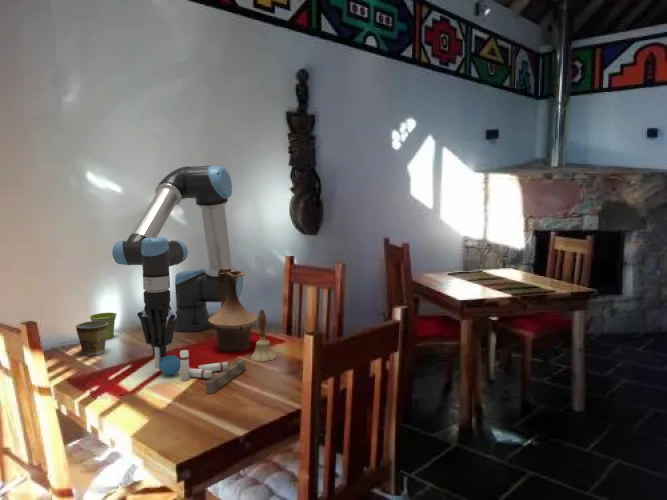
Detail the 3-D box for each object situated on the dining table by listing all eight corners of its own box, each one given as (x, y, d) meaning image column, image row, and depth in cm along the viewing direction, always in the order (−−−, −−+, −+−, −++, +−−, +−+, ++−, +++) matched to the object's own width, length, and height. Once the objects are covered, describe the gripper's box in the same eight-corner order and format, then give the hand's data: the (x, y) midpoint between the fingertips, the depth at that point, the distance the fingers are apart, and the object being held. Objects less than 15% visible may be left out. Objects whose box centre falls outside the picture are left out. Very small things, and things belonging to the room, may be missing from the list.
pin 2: (198, 366, 162) (226, 362, 165) (199, 374, 161) (227, 370, 164) (198, 364, 160) (227, 360, 163) (199, 373, 159) (228, 369, 162)
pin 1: (184, 377, 157) (182, 349, 156) (191, 378, 156) (190, 350, 155) (179, 380, 155) (177, 352, 154) (186, 381, 154) (185, 352, 153)
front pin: (186, 366, 159) (211, 368, 157) (187, 373, 160) (212, 376, 158) (181, 370, 157) (207, 372, 155) (182, 377, 158) (208, 380, 155)
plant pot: (99, 342, 194) (97, 319, 193) (86, 338, 200) (84, 316, 199) (123, 337, 201) (121, 314, 200) (109, 333, 207) (108, 311, 206)
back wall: (239, 368, 164) (239, 359, 164) (245, 369, 164) (245, 359, 163) (205, 392, 145) (205, 382, 145) (212, 393, 145) (212, 382, 144)
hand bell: (245, 359, 173) (244, 311, 171) (260, 352, 180) (259, 306, 179) (266, 363, 169) (265, 314, 167) (281, 355, 177) (279, 308, 175)
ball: (170, 349, 162) (184, 355, 160) (170, 367, 164) (185, 372, 161) (154, 357, 157) (169, 362, 154) (155, 375, 159) (170, 381, 156)
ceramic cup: (116, 351, 184) (114, 322, 183) (90, 359, 175) (88, 329, 174) (92, 345, 191) (90, 318, 189) (66, 353, 182) (64, 324, 181)
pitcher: (199, 347, 187) (195, 268, 184) (239, 337, 199) (237, 263, 196) (227, 358, 175) (224, 274, 171) (268, 347, 186) (266, 268, 183)
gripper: (130, 291, 156) (133, 368, 159) (168, 293, 152) (171, 373, 155) (146, 286, 163) (149, 361, 166) (183, 288, 159) (185, 365, 162)
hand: (160, 366), depth 161 cm, fingers closed
